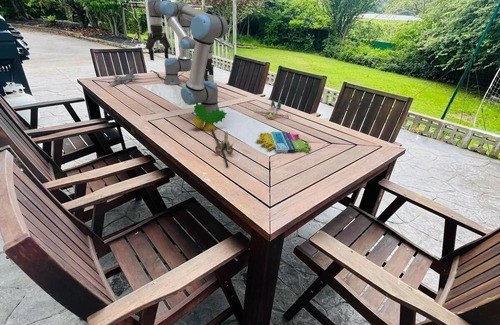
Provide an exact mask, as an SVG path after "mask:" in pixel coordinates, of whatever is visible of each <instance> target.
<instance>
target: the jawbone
mask: <svg viewBox="0 0 500 325" xmlns="http://www.w3.org/2000/svg"><path fill="white" fill-rule="evenodd" d="M223 135H224V136H223V140H222V139H221V142H220V145H218V143H217V141H215V144H216V146H215V148H214V149H215V152H214V154H215V155H217V156H218V155H220V153H222V150H223V151H224V150H226V152H227V153H228V155H229V156H233V155H234V154H233V153H234V148H233V144H234V143H230V140H228V139H229V138H228V137H229V136H228V135H229V133H228V131H226V132H224V134H223Z"/></svg>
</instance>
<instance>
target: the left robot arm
mask: <svg viewBox="0 0 500 325" xmlns="http://www.w3.org/2000/svg"><path fill="white" fill-rule="evenodd" d="M165 21H166V23H167V24H168V26H169V27H171V29H172V30H173V32H174V33H175V35H176V37H177V38H178V40H179V41H178V42H179V43H178V44H179V46H178V47H179V56H177V58H176V57H168V58H169V59H167V58H165V60H164V72H165V78H164V77H161V76H160V75H159V73H158V72H156V71H154V70H150V71H149V72H150V73H152V72H153V73H154V74H157V73H158V74H157V77H158V78H159V79H161V80H164V84H165V85H168V86H169V85H170V86H175V85H176V86H177V85H180V84H181V80H180V79H181V78H180V77H179V73H184V72H190V71H191V65H192V59H191V57H190V56H189V55H190V53H189V52H190V51H189V50H194V47H195V41H194V39H193V38H192V39H191V38H190V36H189V29H190V25H191V21H190V20H188V19H186V18H183V17H181V16H165ZM208 75H213V76H214V64H213V45H212V46H210V50H209V55H208V60H207V65H206V69H205V74H204V79H205V81H208V79H207V76H208Z"/></svg>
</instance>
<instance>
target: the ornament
mask: <svg viewBox="0 0 500 325" xmlns="http://www.w3.org/2000/svg"><path fill="white" fill-rule="evenodd" d="M219 110H220V108H219V109H217V110H216V111H214V110H212V112H211V113H208V112H206V109H204V106H201V103H197V102H196V104H195V105H193V112H194V113H195V118H192V119H191V122H192V123H193V125H195V127H197V128H198V129H202V130H203V131H206V132H212V129H213V131H215V130H216V126H215V124H218V123H219V122H223V119H226V115H227V114H228V113H227V112H224V110H223V109H221V110H220V111H219ZM207 113H208V115H207ZM214 123H215V124H214Z"/></svg>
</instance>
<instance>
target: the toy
mask: <svg viewBox="0 0 500 325" xmlns="http://www.w3.org/2000/svg"><path fill="white" fill-rule="evenodd" d="M281 107H282V100H280V99H279V101H278V102H277V104H276V103H275V99H272V100H271V103H270V108H268V110H267V111H264V110H260V111H259V110H258V109H257V108H256V109H255V110H252V111H253V114H263V115H265V118H267V119H269V120H273V119H276V116H278V117H284V118H287V119H290V117H291V115H290V114H289V113H287V114H282V113H280V112H277V111H278V110H280V109H281Z"/></svg>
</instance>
